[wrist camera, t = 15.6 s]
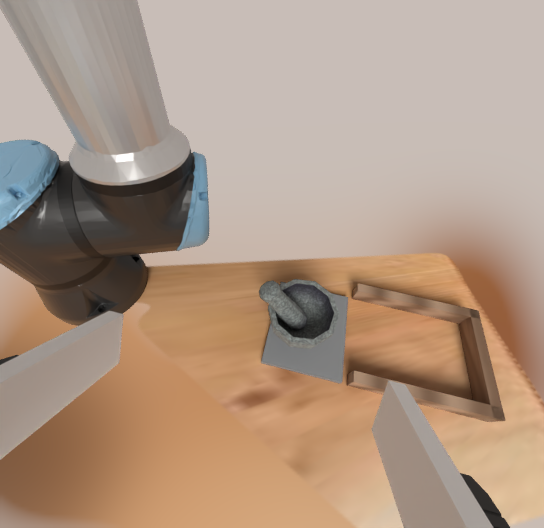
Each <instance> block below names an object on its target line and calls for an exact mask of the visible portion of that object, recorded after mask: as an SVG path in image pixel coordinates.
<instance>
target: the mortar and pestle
mask: <svg viewBox="0 0 544 528" xmlns="http://www.w3.org/2000/svg"><path fill="white" fill-rule="evenodd" d="M259 294H260V298H261V299H262V300H264V301H265V302H268V303H269V306H268V311H269V315H270V320H271V324H272V329H273V333H275V334H276V335H277V336H278V337H279V338H280V339H281V340H282V341H283V342H285V343H286V344H287V345H288V346H289V347H297V348H305V349H311V348H313V347H315V346H316V345H318V344H320V343H321V342H323V341H325V340H326V339H328V338H329V337H331V336H332V335H333V333H334V330H335V327H336V324H337V320H338V317H339V311H338V308H337V306H336V303H335V301H334V298H333V295H332V294H331V293H330V292H328V291H327V290H326V289H324V288H323V287H322V286H320V285H319V284H318V283H316V282H315V281H306V280H298V279H294V280H292V281H290V282H288V283H286V284H284V285H282V286H280V285H279V284H278V283H276V282H274V281H267V282H266V283H264V284H263V285H262V286H261V288H260V290H259Z"/></svg>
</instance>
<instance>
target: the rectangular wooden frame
mask: <svg viewBox="0 0 544 528" xmlns="http://www.w3.org/2000/svg"><path fill="white" fill-rule="evenodd" d="M352 299H356V300H360V301H364V302H369V303H373V304H377V305H381V306H386V307H390V308H394V309H399V310H403V311H407V312H411V313H416V314H420V315H424V316H429V317H433V318H437V319H442V320H446V321H450V322H454V323H459V328H460V334H461V339H462V344H463V349H464V354H465V359H466V365H467V370H468V375H469V380H470V385H471V391H472V396H473V400H469V399H465V398H461V397H457V396H453V395H449V394H445V393H441V392H437V391H433V390H429V389H425V388H421V387H417V386H414V385H410V384H406V383H402V382H398V381H394V380H390V379H386V378H382V377H378V376H374V375H370V374H366V373H362V372H358V371H352V372H351V373H349V374H348V376H347V385H348V386H352V387H356V388H360V389H363V390H367V391H371V392H375V393H379V394H383V395H384V392H385V389H386V386H387V383H388V380H389V381H393V382H397V383H401V384H405V385H406V387H407V388H408V390H409V392H410V393H411V395H412V396H413V398H414V400H415V401H416V403H418V404H421V405H425V406H429V407H433V408H437V409H441V410H445V411H448V412H452V413H456V414H460V415H464V416H468V417H472V418H475V419H479V420H483V421H487V422H492V421H505V417H504V413H503V409H502V405H501V401H500V397H499V393H498V389H497V385H496V380H495V376H494V372H493V368H492V364H491V360H490V356H489V352H488V348H487V344H486V340H485V336H484V332H483V328H482V324H481V320H480V315H479V311H478V310H473V309H469V308H464V307H460V306H456V305H451V304H447V303H442V302H438V301H434V300H429V299H425V298H420V297H416V296H412V295H407V294H403V293H399V292H394V291H390V290H385V289H381V288H377V287H372V286H368V285H363V284H359V283H358V284H357V286H356V287H355V289H354V290H353V291H352Z"/></svg>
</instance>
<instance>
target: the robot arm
mask: <svg viewBox="0 0 544 528" xmlns="http://www.w3.org/2000/svg"><path fill="white" fill-rule="evenodd" d="M0 8H1V10H2V12H3V14H4V15H5V17H6V19H7V21H8V22H9V24H10V26H11V28H12V29H13V31H14V33H15V34H16V36H17V38H18V40H19V42H20V43H21V45H22V47H23V49H24V50H25V52H26V54H27V55H28V57H29V59H30V61H31V63H32V64H33V66H34V68H35V70H36V71H37V73H38V75H39V77H40V78H41V80H42V82H43V84H44V85H45V87H46V89H47V91H48V92H49V94H50V96H51V97H52V99H53V101H54V103H55V105H56V106H57V108H58V110H59V112H60V113H61V115H62V117H63V119H64V120H65V122H66V124H67V126H68V127H69V129H70V131H71V133H72V134H73V136H74V138H75V139H76V142H75V144H74V146H73V148H72V150H71V152H70V155H69V161H65V162H63V161H60V160H59V157H58V155H57V153H56V152H55V151H53V150H51V149H50V148H49V147H48V146H46V145H44V144H42V143H40V142H38V141H33V140H15V141H9V142H4V143H0V263H1V264H3V265H4V266H5V267H7V268H9V269H10V270H12V271H13V272H15V273H16V274H18V275H19V276H21V277H22V278H24V279H25V280H27V281H29V282H30V283H32V284H33V285H34V286H35V288H36V290H37V292H38V294H39V296H40V297H41V299H42V301H43V303H44V305H45V307H46V308H47V309H48V310H49V311H50V312H51V313H52V314H53V315H55V316H56V317H58V318H59V319H61V320H63V321H64V322H66V323H69V324H72V325H78V327H76V328H74V329H72V330H70V331H68V332H66V333H64V334H62V335H60V336H57V337H55V338H54V339H51V340H50V341H47V342H45V343H43V344H42V345H40V346H38V347H35V348H34V349H31V350H29V351H27V352H25V353H23V354H21V355H15V356H12V357H8V358H5V359H1V360H0V459H2V458H3V457H4V456H5V455H7V454H8V453H9V452H10V451H11V450H13V449H14V448H15V447H16V446H18V445H19V444H20V443H21V442H23V441H24V440H25V439H26V438H27V437H29V436H30V435H31V434H32V433H34V432H35V431H36V430H37V429H39V428H40V427H41V426H42V425H43V424H45V423H46V422H47V421H48V420H50V419H51V418H52V417H53V416H55V415H56V414H57V413H58V412H59V411H61V410H62V409H63V408H64V407H66V406H67V405H68V404H69V403H71V402H72V401H73V400H74V399H75V398H77V397H78V396H79V395H80V394H81V393H83V392H84V391H85V390H86V389H88V388H89V387H90V386H91V385H92V384H94V383H95V382H96V381H98V380H99V379H100V378H101V377H102V376H104V375H105V374H106V373H107V372H109V371H110V370H111V369H112V368H114V367H115V366H116V365H117V364H118V363H119V359H120V349H121V337H122V326H123V313H124V312H125V311H127V310H128V309H129V308H130V307H131V306H132V305H133V304H134V303H135V302H136V301H137V300H138V299H139V297H140V296H141V294H142V293H143V291H144V288H145V286H146V282H147V268H146V266H145V263H144V262H143V260H142V259H141V257H140V256H139V254H145V253H155V252H165V251H175V250H176V251H179V250H181V249H184V248H189V247H195V246H200V245H202V244H203V243H205V242H206V240H207V239H208V236H209V206H208V188H207V187H208V182H207V167H206V159H205V156H204V155H202V154H198V153H195V152H193V153H191V149H190V145H189V142H188V139H187V137H186V136H185V135H184V134H183V133H182V132H181V131H179V130H178V129H176V128H174V127H173V126H171V125H170V124H169V120H168V117H167V113H166V109H165V106H164V101H163V98H162V94H161V90H160V86H159V82H158V79H157V74H156V71H155V67H154V63H153V59H152V55H151V52H150V48H149V44H148V40H147V36H146V32H145V29H144V25H143V21H142V17H141V14H140V9H139V6H138V2H137V0H0ZM372 432H373V435H374V438H375V441H376V444H377V447H378V450H379V453H380V456H381V459H382V462H383V465H384V468H385V471H386V474H387V477H388V480H389V483H390V486H391V489H392V493H393V496H394V499H395V502H396V505H397V508H398V511H399V514H400V517H401V520H402V523H403V526H404V528H510V526H509V525H508V523H507V522H506V520H505V519H504V518H502V517H501V513H500V512H499V510H498V509H497V507H496V506H495V504H494V503H493V501H492V500H491V498H490V497H489V495H488V494H487V493H486V492H485V491H484V490H483V489H482V488H481V486H480V485H479V484H478V483H477V482H476V481H475V480H474V479H473V478H472V477H471V476H469V475H465V474H461V473H459V471H458V469H457V468H456V466H455V465H454V463H453V461H452V460H451V458H450V456H449V455H448V453H447V452H446V450H445V448H444V447H443V445H442V443H441V442H440V440H439V439H438V437H437V435H436V434H435V432H434V430H433V429H432V427H431V426H430V424H429V422H428V421H427V419H426V418H425V416H424V414H423V413H422V411H421V409H420V408H419V406H418V405H417V403H416V401H415V400H414V398H413V396H412V395H411V393H410V392H409V390H408V388H407V387H406V385H405V384H401V383H397V382H393V381H389V380H388V383H387V386H386V389H385V392H384V395H383V397H382V400H381V403H380V406H379V409H378V412H377V415H376V418H375V421H374V424H373V427H372Z"/></svg>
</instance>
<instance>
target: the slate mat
mask: <svg viewBox="0 0 544 528" xmlns="http://www.w3.org/2000/svg"><path fill="white" fill-rule="evenodd" d="M284 284H286V283H284V282H281V284H280V286H282V285H284ZM331 294H332V293H331ZM332 295H333V298H334V301H335V303H336V306H337V308H338V311H339V317H338V320H337V324H336V327H335V330H334V333H333V335H332V336H331V337H329V338H328V339H326V340H325V341H323V342H321V343H320V344H318V345H316V346H315V347H313V348H311V349H305V348H297V347H289V346H288V345H287V344H286V343H285V342H283V341H282V340H281V339H280V338H279V337H278V336H277V335H276V334H275V333H273V329H272V324H270V328H269V332H268V337H267V341H266V345H265V349H264V353H263V357H262V361H261V363H263V364H267V365H271V366H275V367H279V368H282V369H286V370H290V371H294V372H298V373H302V374H306V375H309V376H313V377H317V378H321V379H325V380H329V381H333V382H336V383H342V377H343V363H344V348H345V334H346V320H347V305H348V297H345V296H340V295H336V294H332Z"/></svg>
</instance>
